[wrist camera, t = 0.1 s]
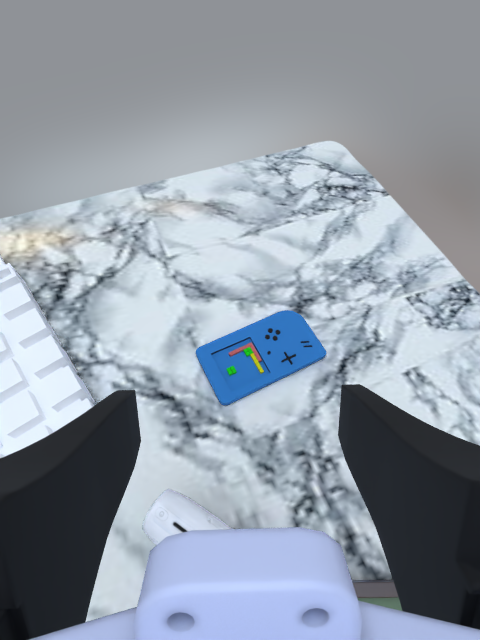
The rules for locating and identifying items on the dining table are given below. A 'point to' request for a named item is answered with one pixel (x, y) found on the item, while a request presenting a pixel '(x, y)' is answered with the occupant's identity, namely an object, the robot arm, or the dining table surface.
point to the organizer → (32, 370)
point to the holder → (377, 593)
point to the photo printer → (177, 517)
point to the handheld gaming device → (259, 355)
